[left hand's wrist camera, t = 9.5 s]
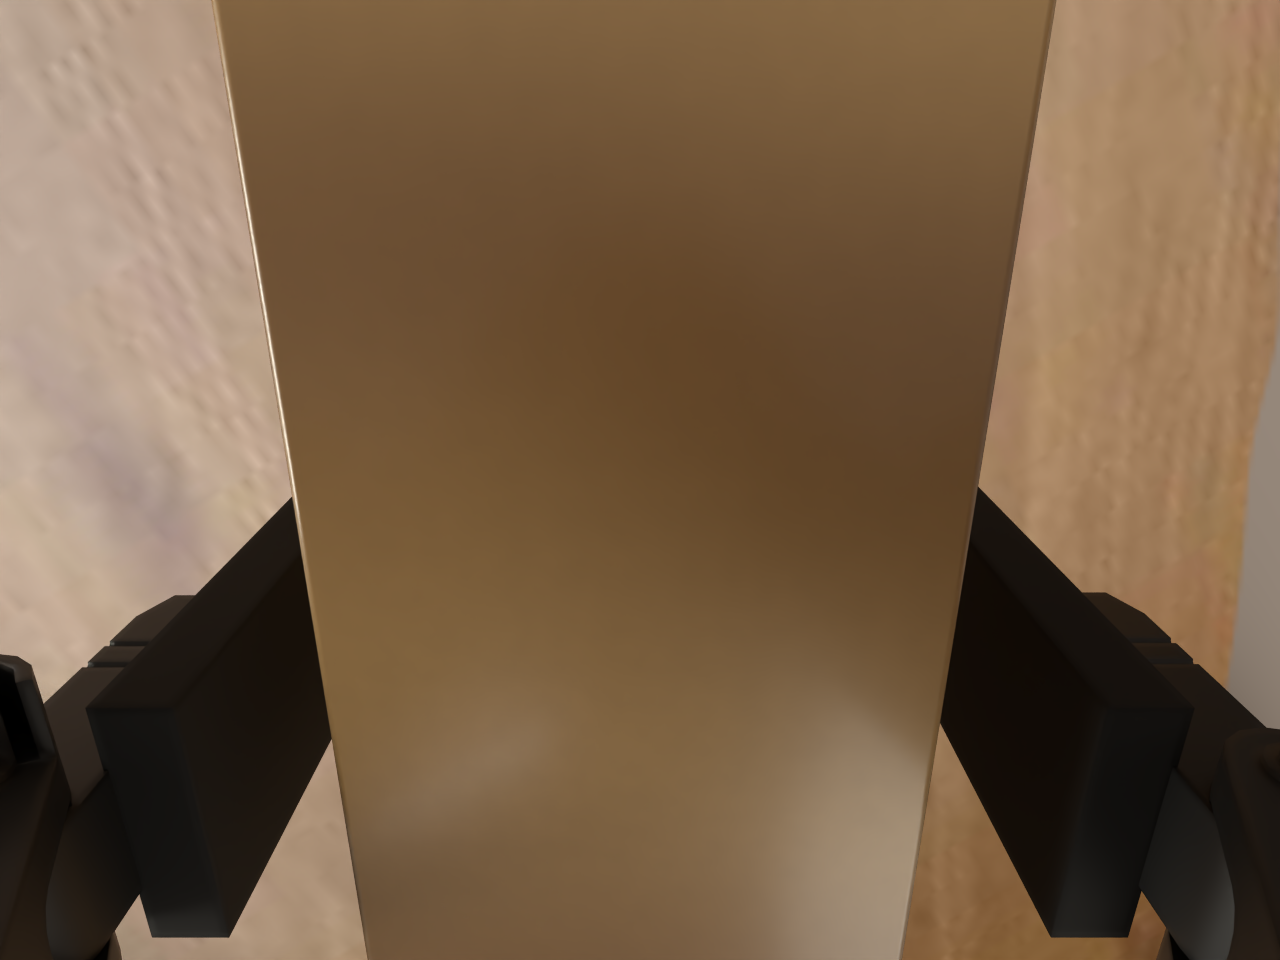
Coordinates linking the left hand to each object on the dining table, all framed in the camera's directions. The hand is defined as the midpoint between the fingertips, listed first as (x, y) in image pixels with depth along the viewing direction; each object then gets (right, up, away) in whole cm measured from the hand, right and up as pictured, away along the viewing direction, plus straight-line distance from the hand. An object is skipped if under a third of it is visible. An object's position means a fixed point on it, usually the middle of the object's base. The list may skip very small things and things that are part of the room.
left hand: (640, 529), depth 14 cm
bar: (0, +9, -2) cm, 9 cm away
